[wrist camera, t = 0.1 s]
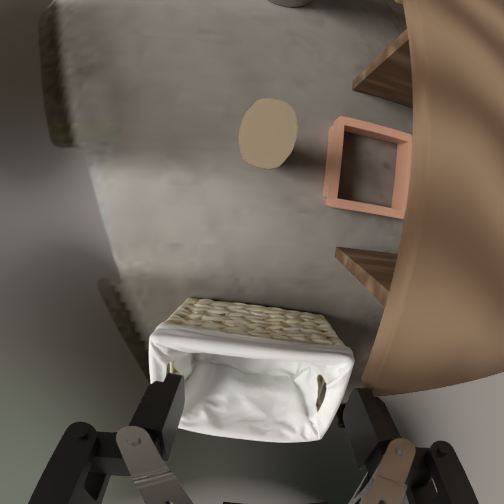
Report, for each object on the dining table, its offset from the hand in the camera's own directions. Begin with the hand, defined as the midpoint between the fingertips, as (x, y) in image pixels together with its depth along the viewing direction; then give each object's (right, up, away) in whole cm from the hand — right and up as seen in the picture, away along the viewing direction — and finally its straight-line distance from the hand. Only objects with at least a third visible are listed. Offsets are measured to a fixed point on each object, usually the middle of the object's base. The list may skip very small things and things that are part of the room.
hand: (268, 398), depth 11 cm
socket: (+16, +19, +25) cm, 35 cm away
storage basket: (-1, -8, +32) cm, 33 cm away
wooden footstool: (+16, +19, +25) cm, 35 cm away
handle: (+1, +20, +25) cm, 33 cm away
